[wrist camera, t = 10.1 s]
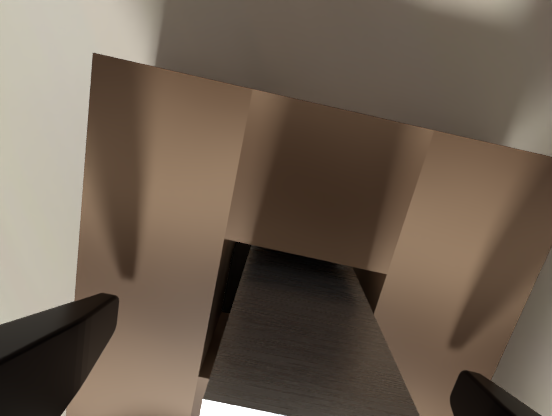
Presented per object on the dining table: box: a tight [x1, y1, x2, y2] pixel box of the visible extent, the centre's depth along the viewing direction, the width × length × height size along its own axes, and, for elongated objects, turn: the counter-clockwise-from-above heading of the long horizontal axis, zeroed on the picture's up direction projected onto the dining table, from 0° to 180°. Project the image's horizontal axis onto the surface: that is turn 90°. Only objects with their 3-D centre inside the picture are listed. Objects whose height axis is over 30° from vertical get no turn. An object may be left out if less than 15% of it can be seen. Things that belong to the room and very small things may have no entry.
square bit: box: [200, 245, 420, 416], centre depth 9 cm, size 3×3×8 cm
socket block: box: [66, 53, 552, 416], centre depth 11 cm, size 12×12×4 cm
